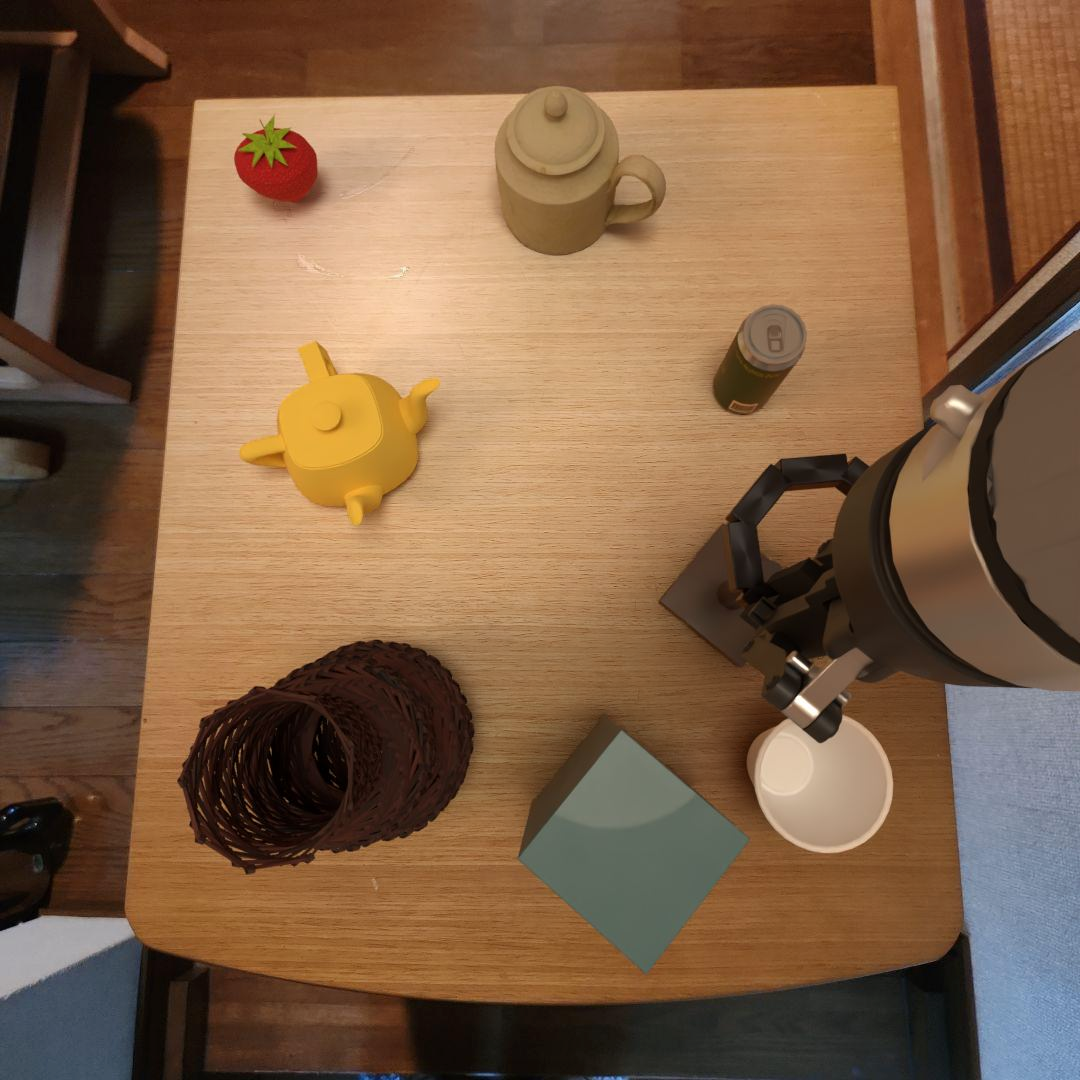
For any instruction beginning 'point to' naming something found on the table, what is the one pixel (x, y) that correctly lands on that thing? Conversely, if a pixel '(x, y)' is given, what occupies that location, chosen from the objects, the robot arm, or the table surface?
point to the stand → (627, 842)
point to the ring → (759, 501)
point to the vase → (330, 757)
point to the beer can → (759, 358)
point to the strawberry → (277, 163)
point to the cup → (821, 785)
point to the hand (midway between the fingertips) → (775, 610)
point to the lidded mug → (566, 172)
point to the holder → (713, 600)
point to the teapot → (344, 435)
